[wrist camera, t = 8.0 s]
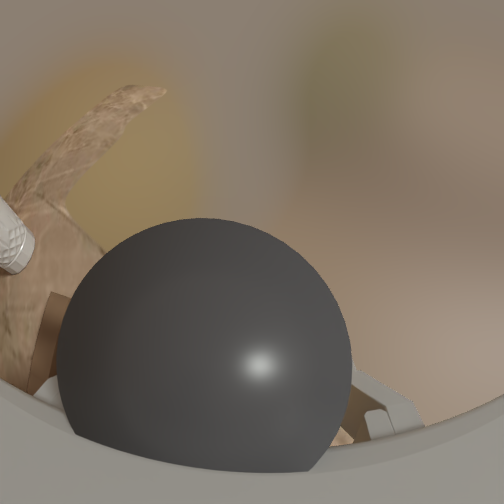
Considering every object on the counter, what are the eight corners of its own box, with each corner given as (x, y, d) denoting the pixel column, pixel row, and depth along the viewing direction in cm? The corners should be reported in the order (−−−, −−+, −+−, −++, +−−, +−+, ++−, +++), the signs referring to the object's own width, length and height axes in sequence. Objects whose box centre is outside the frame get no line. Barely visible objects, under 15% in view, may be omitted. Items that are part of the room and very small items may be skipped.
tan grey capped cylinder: (287, 436, 12) (317, 531, 2) (184, 416, 13) (40, 437, 3) (305, 319, 15) (355, 190, 6) (209, 305, 16) (126, 175, 7)
